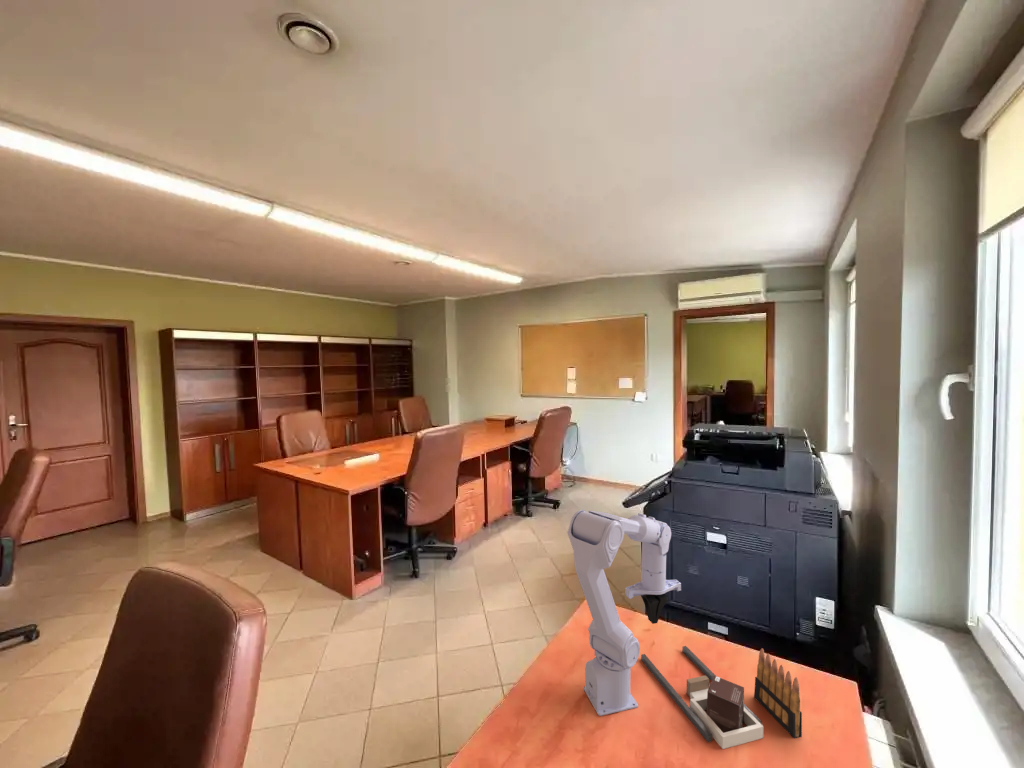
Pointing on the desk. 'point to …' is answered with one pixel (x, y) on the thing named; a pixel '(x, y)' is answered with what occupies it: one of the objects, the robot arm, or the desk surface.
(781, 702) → the ammunition clip
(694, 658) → the track
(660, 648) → the desk surface
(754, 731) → the frame
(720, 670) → the desk surface
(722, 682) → the box
